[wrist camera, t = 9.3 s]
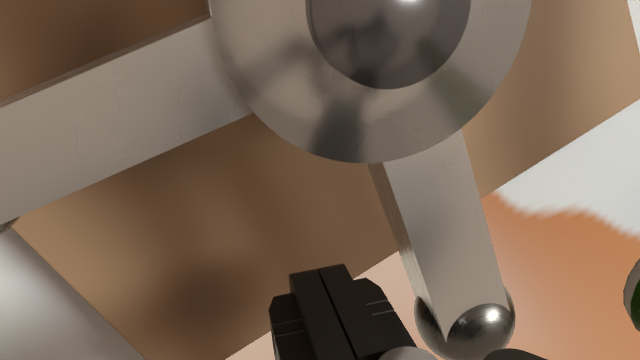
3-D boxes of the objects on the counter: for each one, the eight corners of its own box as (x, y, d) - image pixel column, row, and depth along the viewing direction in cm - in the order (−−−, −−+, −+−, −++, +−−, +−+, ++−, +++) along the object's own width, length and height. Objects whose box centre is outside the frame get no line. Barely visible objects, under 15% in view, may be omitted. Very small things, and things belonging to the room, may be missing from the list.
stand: (178, 359, 19) (175, 437, 15) (-278, -108, 11) (-460, -141, 8) (615, 84, 19) (702, 106, 15) (441, -557, 11) (537, -763, 8)
